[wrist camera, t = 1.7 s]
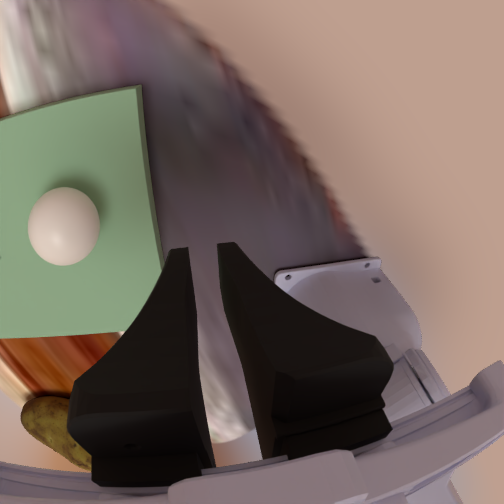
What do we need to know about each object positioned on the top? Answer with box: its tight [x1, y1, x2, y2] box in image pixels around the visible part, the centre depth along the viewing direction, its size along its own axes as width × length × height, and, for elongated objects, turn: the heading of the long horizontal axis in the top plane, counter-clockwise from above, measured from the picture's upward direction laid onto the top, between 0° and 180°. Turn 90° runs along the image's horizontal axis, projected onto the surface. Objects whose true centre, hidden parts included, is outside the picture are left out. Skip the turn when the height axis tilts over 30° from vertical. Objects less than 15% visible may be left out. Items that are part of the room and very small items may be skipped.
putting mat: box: [0, 85, 165, 338], centre depth 17 cm, size 20×16×2 cm
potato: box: [21, 396, 91, 471], centre depth 27 cm, size 8×13×8 cm, turn 58°
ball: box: [28, 187, 100, 266], centre depth 14 cm, size 4×4×4 cm
